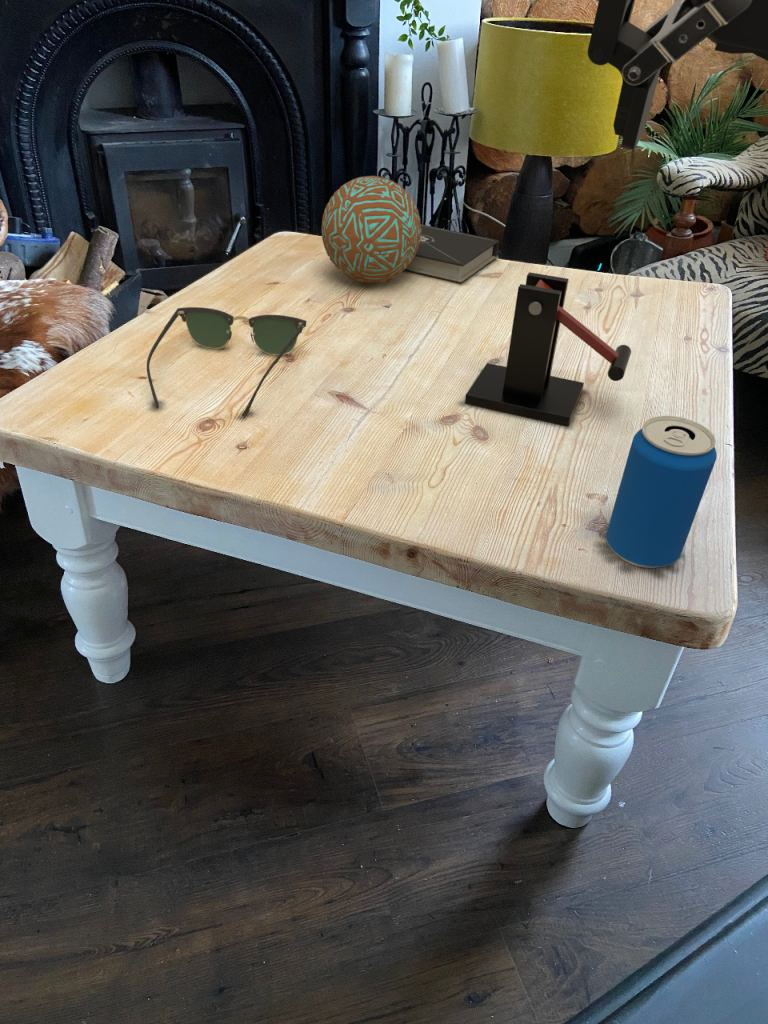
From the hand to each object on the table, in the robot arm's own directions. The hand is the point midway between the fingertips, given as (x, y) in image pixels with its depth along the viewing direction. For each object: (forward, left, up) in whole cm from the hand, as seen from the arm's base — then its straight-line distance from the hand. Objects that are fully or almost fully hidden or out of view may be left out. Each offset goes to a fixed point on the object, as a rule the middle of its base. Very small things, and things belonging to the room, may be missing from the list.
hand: (713, 158), depth 38 cm
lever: (+9, -34, -25) cm, 43 cm away
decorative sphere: (+44, -61, -34) cm, 82 cm away
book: (+40, -74, -34) cm, 91 cm away
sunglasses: (+47, -23, -34) cm, 62 cm away
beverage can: (-3, -11, -34) cm, 36 cm away
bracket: (+13, -34, -34) cm, 49 cm away
